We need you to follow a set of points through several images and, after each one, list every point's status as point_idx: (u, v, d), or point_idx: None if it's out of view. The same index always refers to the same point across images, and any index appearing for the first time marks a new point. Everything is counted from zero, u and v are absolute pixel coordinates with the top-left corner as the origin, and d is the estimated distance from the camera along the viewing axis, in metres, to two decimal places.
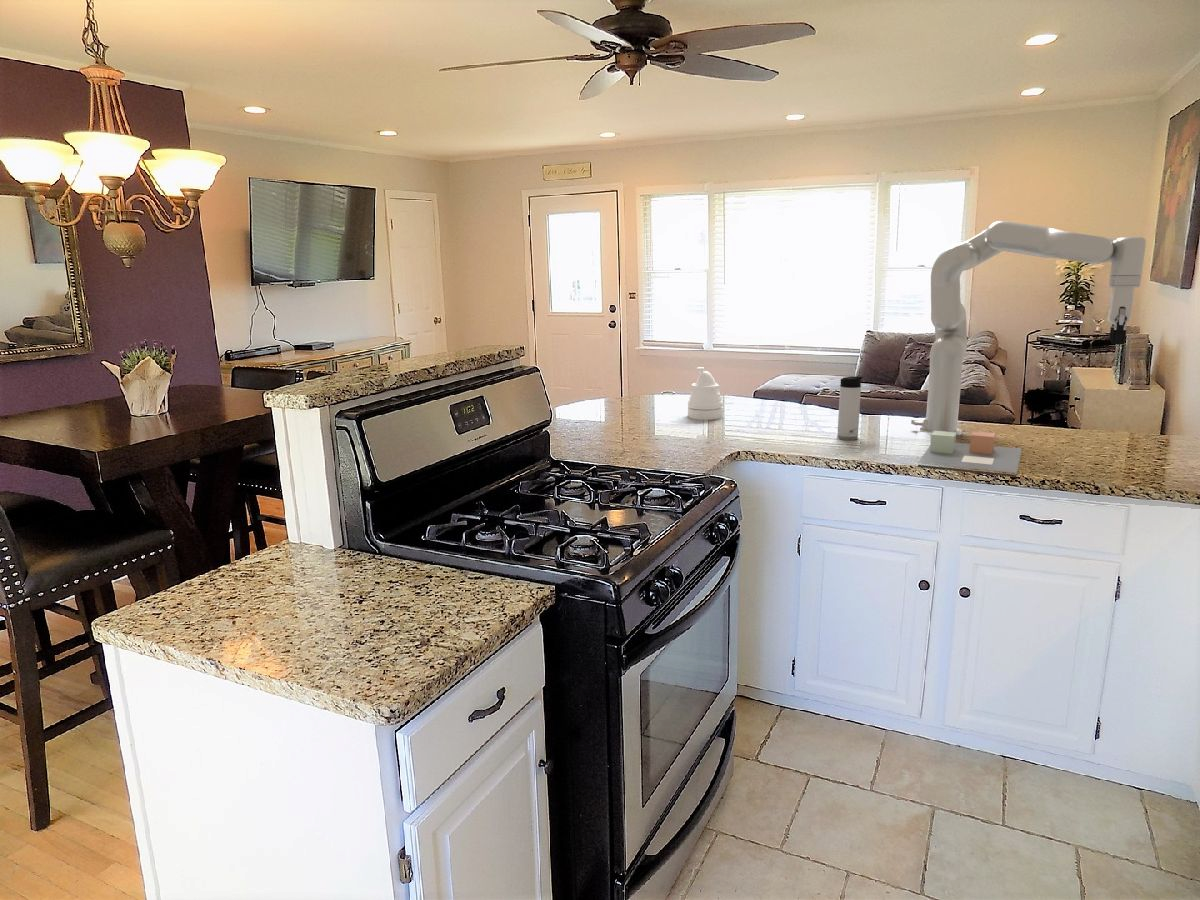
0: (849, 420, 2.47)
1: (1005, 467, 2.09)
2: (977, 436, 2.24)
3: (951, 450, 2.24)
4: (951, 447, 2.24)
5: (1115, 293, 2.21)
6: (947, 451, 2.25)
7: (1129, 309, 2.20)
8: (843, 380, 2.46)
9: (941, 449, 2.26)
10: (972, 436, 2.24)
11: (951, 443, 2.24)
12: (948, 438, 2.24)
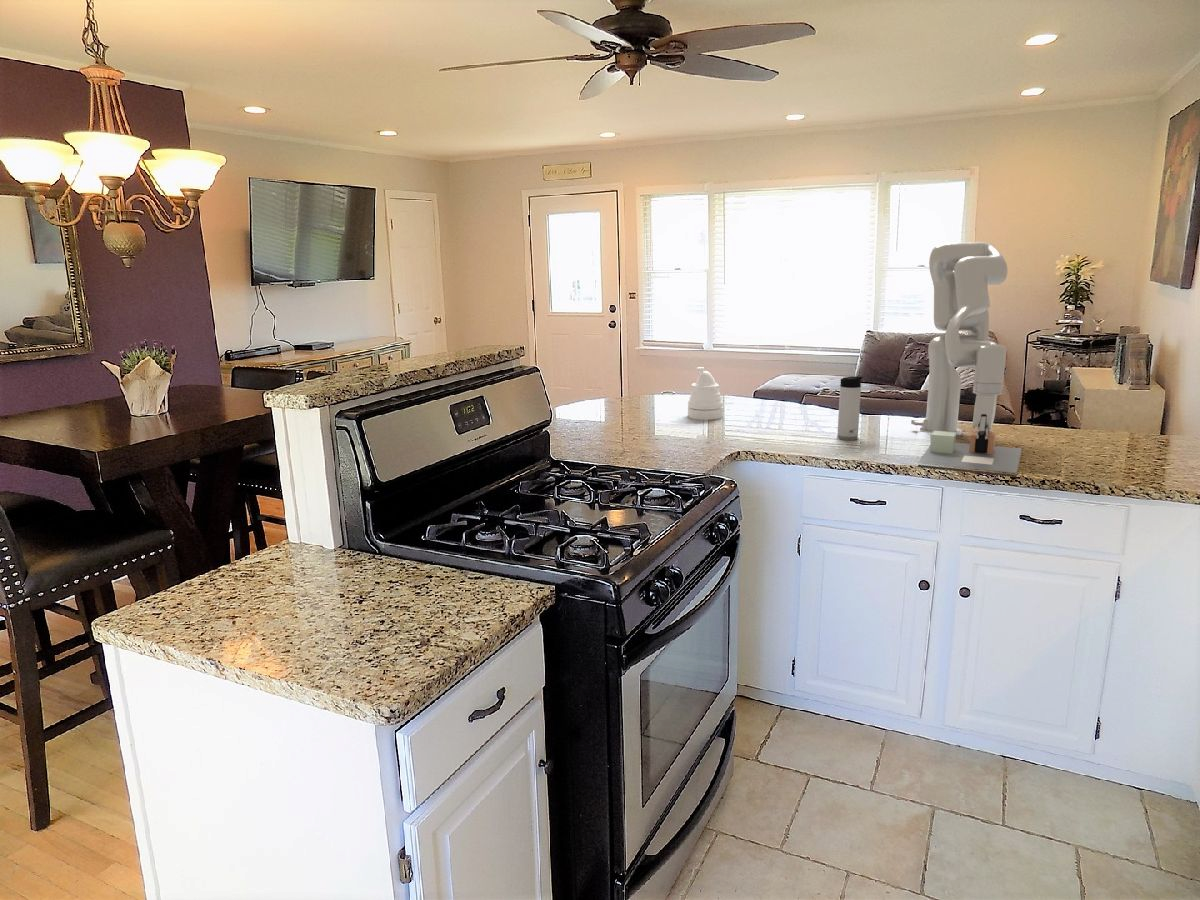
0: (849, 420, 2.47)
1: (1005, 467, 2.09)
2: None
3: (951, 450, 2.24)
4: (951, 447, 2.24)
5: (977, 400, 2.21)
6: (947, 451, 2.25)
7: (990, 417, 2.19)
8: (843, 380, 2.46)
9: (941, 449, 2.26)
10: (972, 436, 2.24)
11: (951, 443, 2.24)
12: (948, 438, 2.24)
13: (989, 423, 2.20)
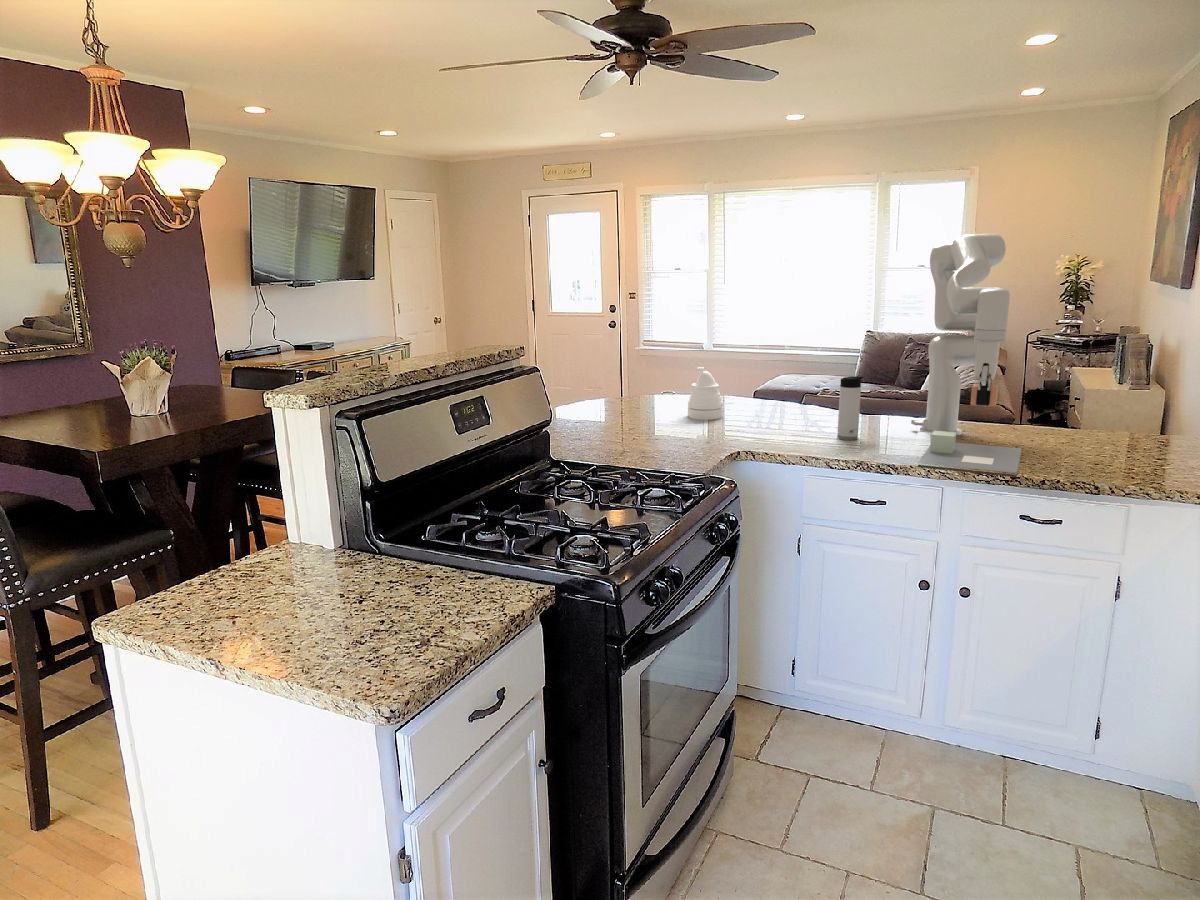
0: (849, 420, 2.47)
1: (1005, 467, 2.09)
2: None
3: (951, 450, 2.24)
4: (951, 447, 2.24)
5: (978, 348, 2.07)
6: (947, 451, 2.25)
7: (993, 366, 2.06)
8: (843, 380, 2.46)
9: (941, 449, 2.26)
10: (973, 387, 2.11)
11: (951, 443, 2.24)
12: (948, 438, 2.24)
13: (991, 372, 2.06)
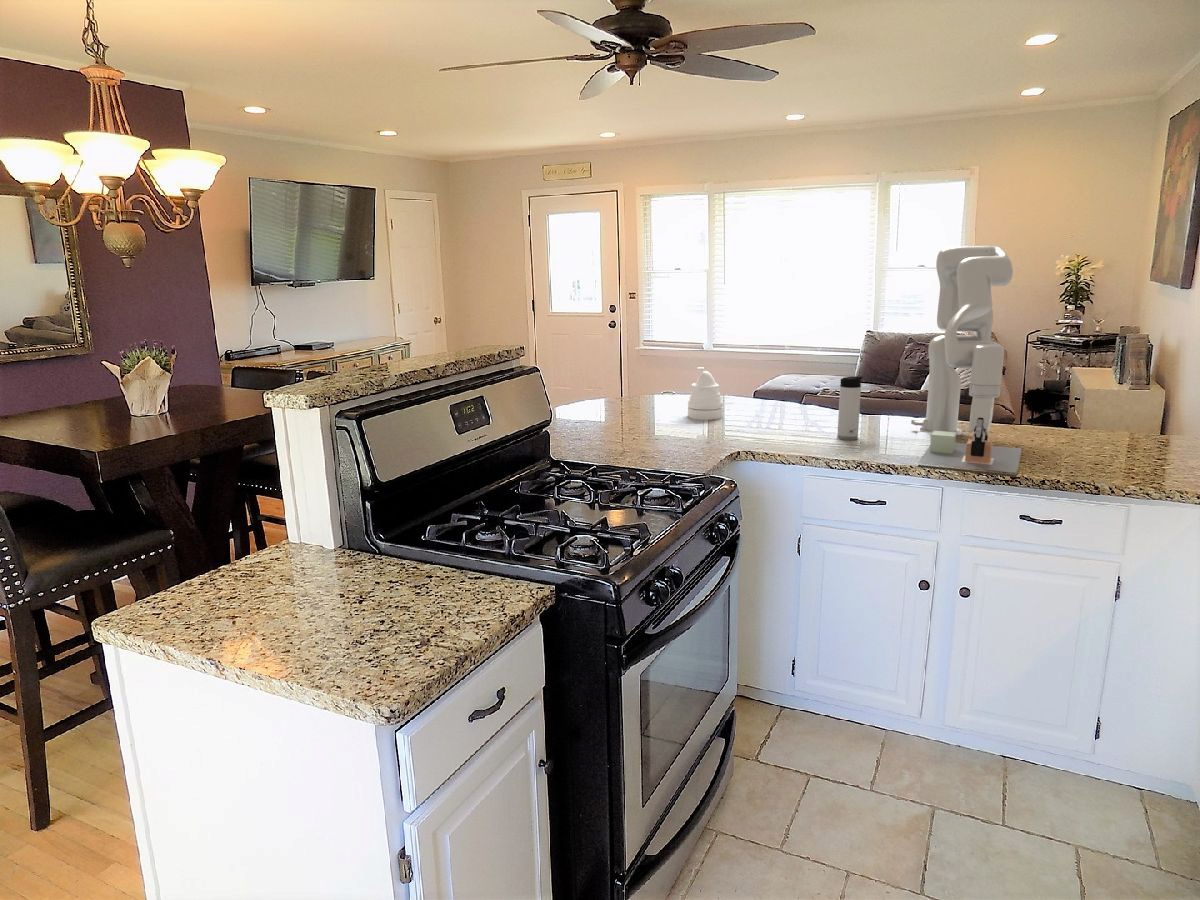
0: (849, 420, 2.47)
1: (1005, 467, 2.09)
2: None
3: (951, 450, 2.24)
4: (951, 447, 2.24)
5: (973, 403, 2.10)
6: (947, 451, 2.25)
7: (987, 420, 2.09)
8: (843, 380, 2.46)
9: (941, 449, 2.26)
10: (968, 444, 2.14)
11: (951, 443, 2.24)
12: (948, 438, 2.24)
13: (986, 427, 2.09)
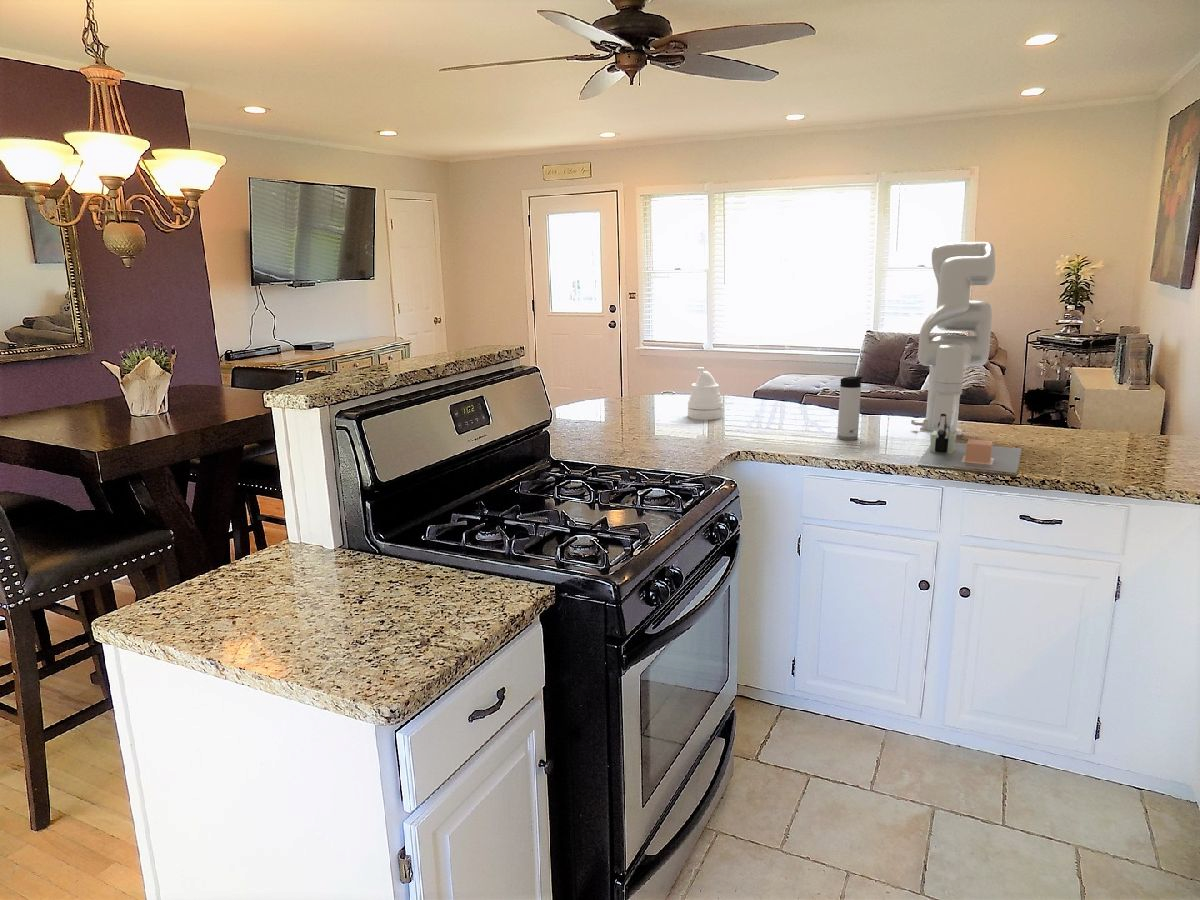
0: (849, 420, 2.47)
1: (1005, 467, 2.09)
2: (973, 444, 2.14)
3: (951, 450, 2.24)
4: (951, 447, 2.24)
5: (937, 400, 2.22)
6: (947, 451, 2.25)
7: (949, 416, 2.21)
8: (843, 380, 2.46)
9: None
10: (968, 444, 2.14)
11: (951, 443, 2.24)
12: (948, 438, 2.24)
13: (949, 423, 2.21)
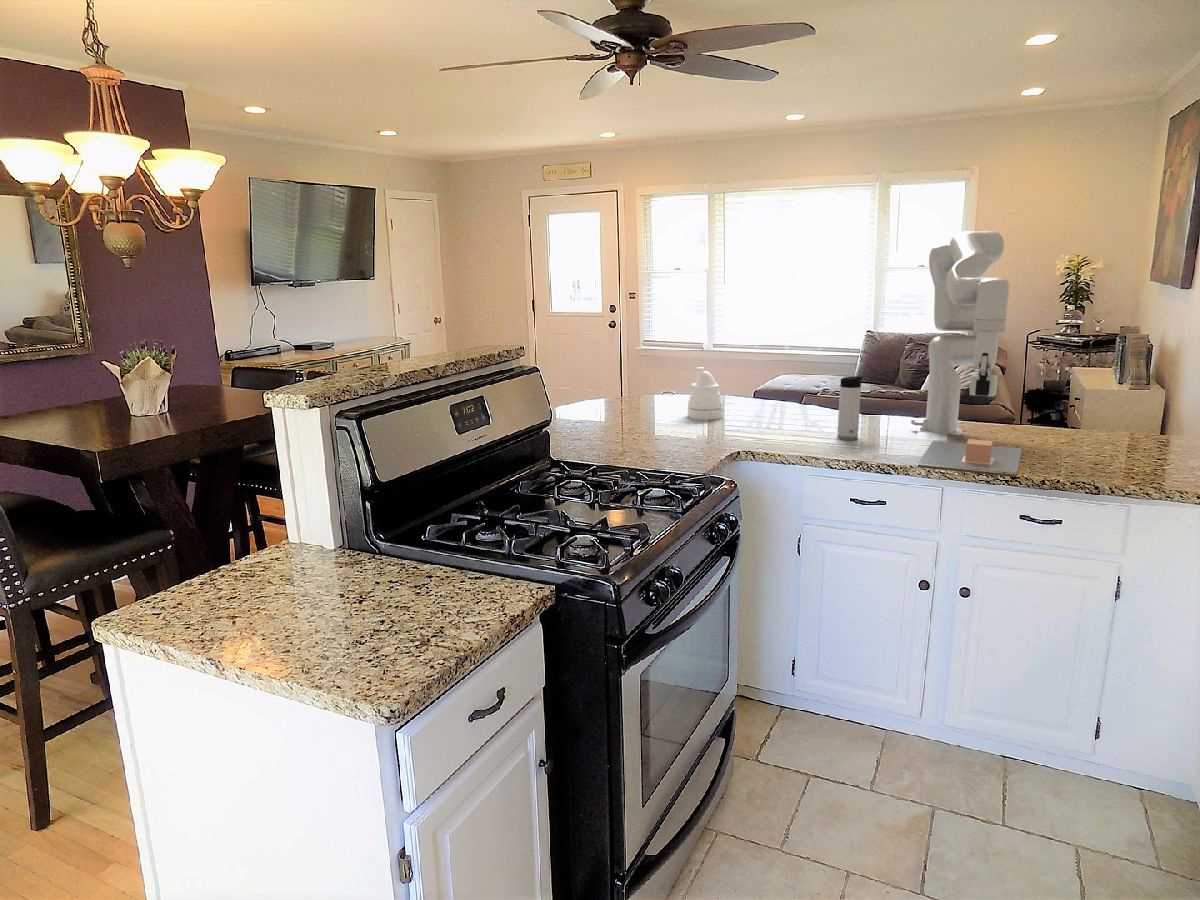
0: (849, 420, 2.47)
1: (1005, 467, 2.09)
2: (973, 444, 2.14)
3: (993, 393, 2.09)
4: (993, 389, 2.09)
5: (978, 338, 2.07)
6: (989, 394, 2.09)
7: (992, 356, 2.05)
8: (843, 380, 2.46)
9: None
10: (968, 444, 2.14)
11: (993, 385, 2.08)
12: (990, 379, 2.08)
13: (991, 362, 2.06)
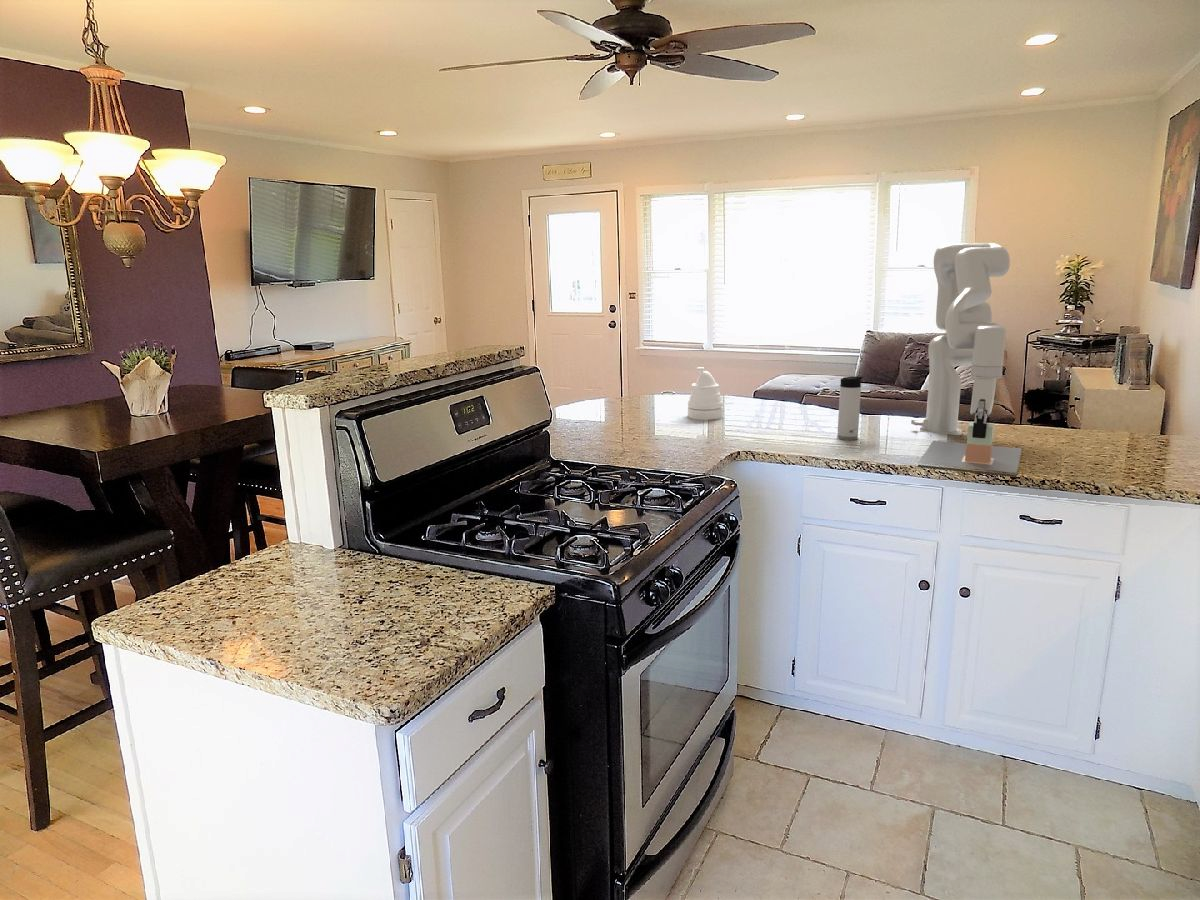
0: (849, 420, 2.47)
1: (1005, 467, 2.09)
2: (973, 444, 2.14)
3: (990, 442, 2.12)
4: (990, 439, 2.11)
5: (975, 385, 2.09)
6: (985, 443, 2.12)
7: (989, 402, 2.08)
8: (843, 380, 2.46)
9: (979, 441, 2.13)
10: (968, 444, 2.14)
11: (990, 434, 2.11)
12: (987, 429, 2.11)
13: (988, 408, 2.08)
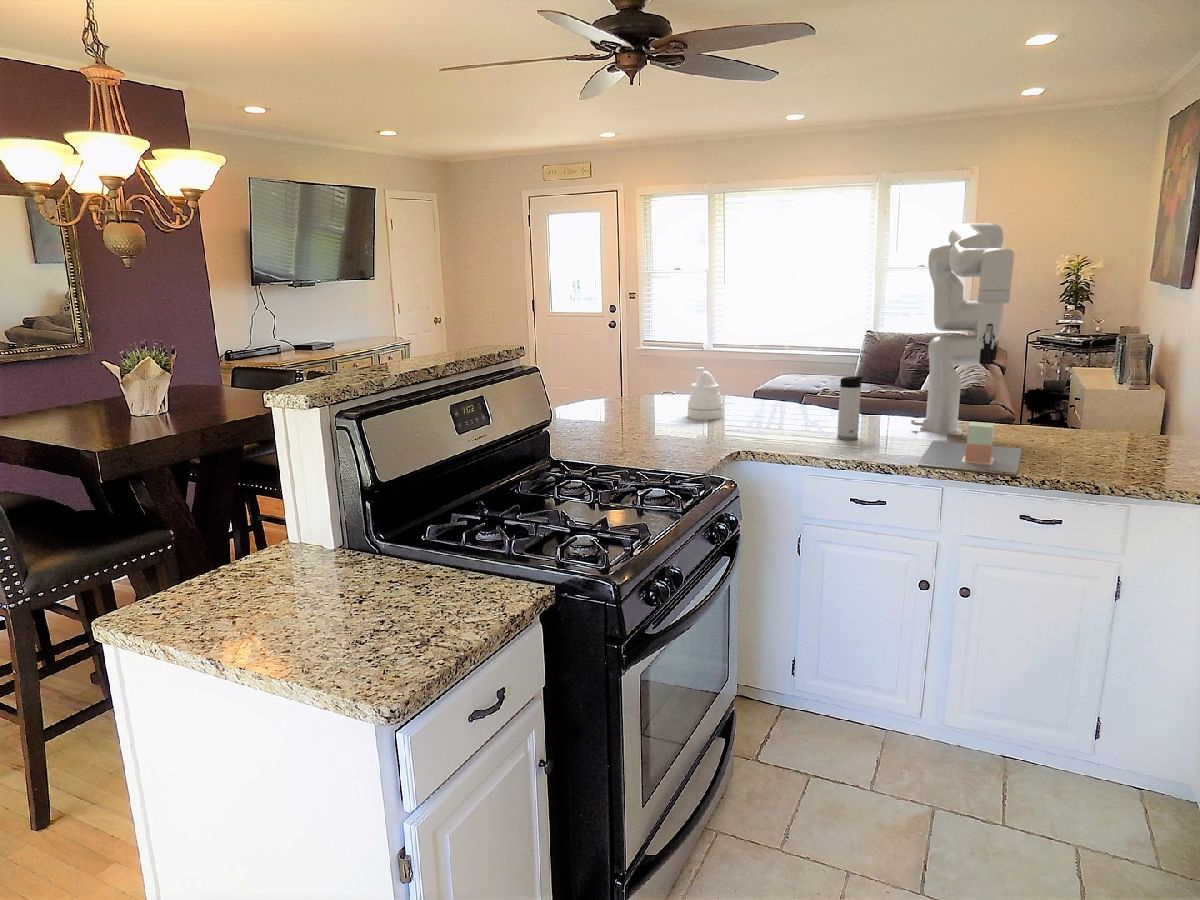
0: (849, 420, 2.47)
1: (1005, 467, 2.09)
2: (973, 444, 2.14)
3: (990, 442, 2.12)
4: (990, 439, 2.11)
5: (982, 309, 2.04)
6: (985, 443, 2.12)
7: (996, 326, 2.03)
8: (843, 380, 2.46)
9: (979, 441, 2.13)
10: (968, 444, 2.14)
11: (990, 434, 2.11)
12: (987, 429, 2.11)
13: (995, 333, 2.04)
